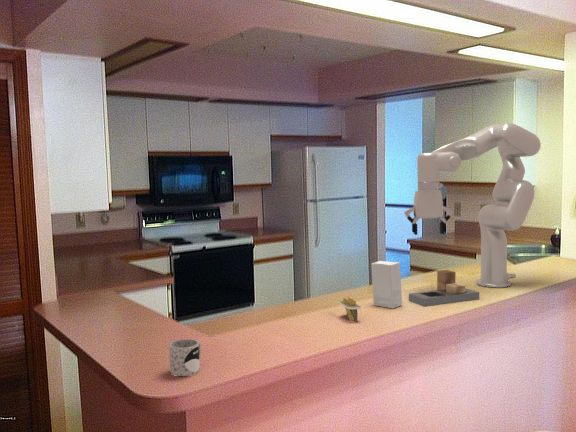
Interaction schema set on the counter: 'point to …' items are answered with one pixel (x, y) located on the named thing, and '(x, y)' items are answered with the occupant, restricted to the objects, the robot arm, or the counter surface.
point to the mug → (185, 357)
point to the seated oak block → (455, 288)
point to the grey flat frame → (442, 297)
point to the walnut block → (445, 278)
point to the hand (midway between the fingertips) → (428, 233)
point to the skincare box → (386, 284)
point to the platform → (350, 308)
